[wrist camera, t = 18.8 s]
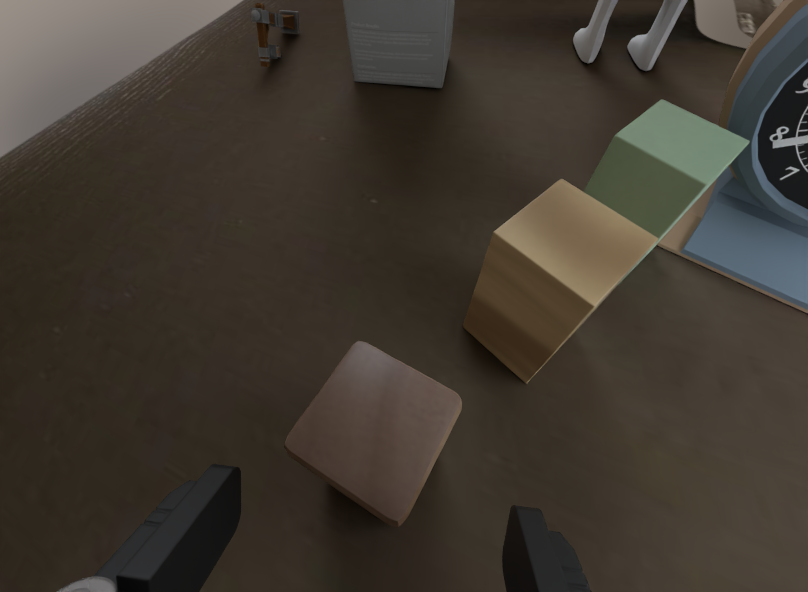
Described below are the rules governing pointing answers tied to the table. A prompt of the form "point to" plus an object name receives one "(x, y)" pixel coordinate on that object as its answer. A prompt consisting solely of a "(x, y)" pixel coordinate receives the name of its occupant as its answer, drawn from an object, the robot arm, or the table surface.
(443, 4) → the cosmetic box
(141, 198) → the table surface
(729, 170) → the alarm clock
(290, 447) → the wooden block
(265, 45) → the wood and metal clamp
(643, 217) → the line block
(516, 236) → the line block
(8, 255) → the table surface
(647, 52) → the toy character
